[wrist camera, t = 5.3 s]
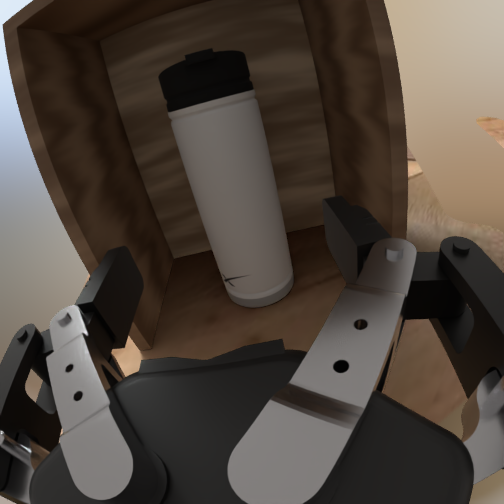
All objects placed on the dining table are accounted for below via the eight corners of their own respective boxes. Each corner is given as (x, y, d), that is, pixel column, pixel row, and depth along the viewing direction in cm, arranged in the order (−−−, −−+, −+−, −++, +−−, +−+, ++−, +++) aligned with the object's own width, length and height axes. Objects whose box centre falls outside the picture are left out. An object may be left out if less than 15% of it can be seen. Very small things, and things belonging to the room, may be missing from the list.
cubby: (400, 296, 22) (352, -82, 7) (139, 350, 23) (2, 24, 8) (343, 214, 35) (300, -19, 20) (166, 255, 36) (92, 38, 21)
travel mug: (232, 319, 24) (146, 66, 14) (225, 274, 30) (162, 73, 19) (304, 299, 24) (250, 39, 14) (285, 258, 30) (238, 52, 19)
